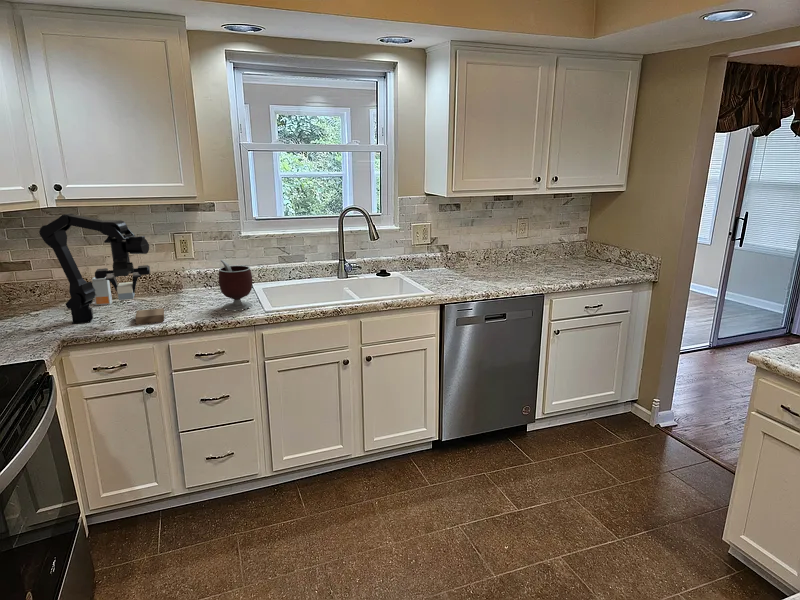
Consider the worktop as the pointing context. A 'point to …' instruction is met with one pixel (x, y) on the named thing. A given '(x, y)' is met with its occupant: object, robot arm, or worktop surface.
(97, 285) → the skincare box
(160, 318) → the walnut stand
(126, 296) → the base plate
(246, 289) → the mate gourd
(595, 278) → the worktop surface
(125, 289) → the lid plate
